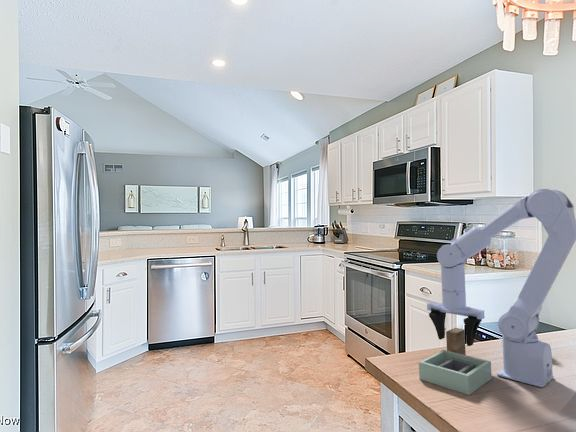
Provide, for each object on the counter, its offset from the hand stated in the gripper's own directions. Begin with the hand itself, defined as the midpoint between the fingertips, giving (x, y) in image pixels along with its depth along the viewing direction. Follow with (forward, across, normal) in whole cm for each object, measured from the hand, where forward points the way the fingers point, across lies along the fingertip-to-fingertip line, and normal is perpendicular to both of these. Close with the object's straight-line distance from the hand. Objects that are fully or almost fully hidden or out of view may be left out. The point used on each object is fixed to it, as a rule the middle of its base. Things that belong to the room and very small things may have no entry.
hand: (455, 341), depth 100 cm
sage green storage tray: (+5, +5, -11) cm, 13 cm away
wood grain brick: (+5, 0, 0) cm, 5 cm away
